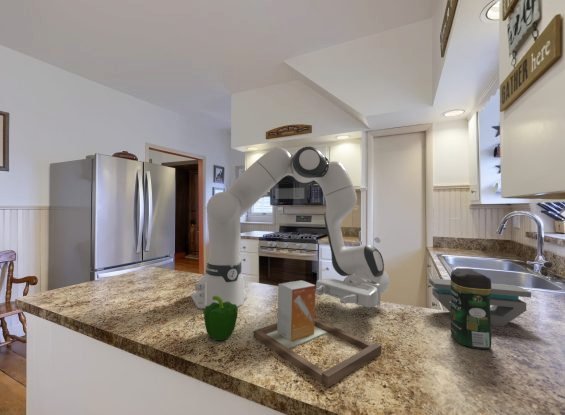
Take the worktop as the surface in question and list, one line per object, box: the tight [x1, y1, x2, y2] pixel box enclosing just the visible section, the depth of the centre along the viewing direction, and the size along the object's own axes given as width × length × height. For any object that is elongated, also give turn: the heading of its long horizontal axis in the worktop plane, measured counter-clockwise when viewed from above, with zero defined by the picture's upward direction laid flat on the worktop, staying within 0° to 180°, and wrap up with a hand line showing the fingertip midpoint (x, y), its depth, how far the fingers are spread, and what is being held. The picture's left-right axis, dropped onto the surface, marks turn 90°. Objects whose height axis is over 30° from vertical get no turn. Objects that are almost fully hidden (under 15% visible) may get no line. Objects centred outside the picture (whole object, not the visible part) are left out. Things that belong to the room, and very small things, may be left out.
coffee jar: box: [450, 267, 492, 350], centre depth 68 cm, size 10×8×19 cm
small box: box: [276, 279, 316, 341], centre depth 69 cm, size 8×6×13 cm
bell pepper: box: [203, 296, 239, 341], centre depth 67 cm, size 8×8×10 cm
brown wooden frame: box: [252, 318, 382, 388], centre depth 64 cm, size 25×19×2 cm
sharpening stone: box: [428, 277, 532, 327], centre depth 83 cm, size 25×8×11 cm, turn 73°
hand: (329, 295), depth 76 cm, fingers open, 8 cm apart
